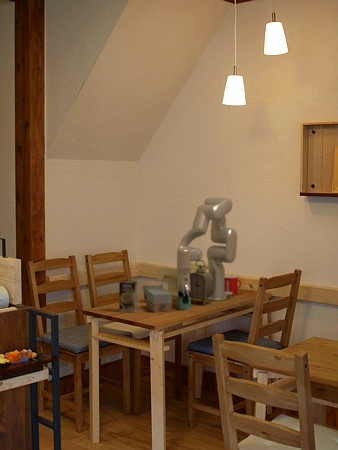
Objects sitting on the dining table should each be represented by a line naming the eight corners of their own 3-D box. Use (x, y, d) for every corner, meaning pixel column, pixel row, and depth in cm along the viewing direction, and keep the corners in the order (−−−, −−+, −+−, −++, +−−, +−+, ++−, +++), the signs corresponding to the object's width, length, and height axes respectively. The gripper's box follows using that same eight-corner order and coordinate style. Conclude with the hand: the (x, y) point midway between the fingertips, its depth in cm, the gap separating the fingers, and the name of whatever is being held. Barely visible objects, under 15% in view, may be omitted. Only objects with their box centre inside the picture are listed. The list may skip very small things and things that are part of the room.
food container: (145, 304, 377) (145, 286, 376) (142, 302, 382) (142, 285, 381) (166, 302, 381) (166, 285, 380) (162, 300, 387) (162, 283, 386)
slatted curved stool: (190, 289, 421) (190, 262, 420) (209, 293, 410) (209, 264, 409) (157, 296, 400) (157, 267, 398) (176, 299, 389) (176, 269, 387)
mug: (220, 294, 406) (220, 277, 405) (227, 292, 413) (227, 275, 412) (237, 296, 399) (237, 279, 398) (244, 294, 406) (244, 277, 405)
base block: (164, 306, 372) (163, 297, 372) (172, 312, 357) (171, 303, 356) (146, 307, 369) (146, 298, 369) (154, 313, 354) (154, 304, 354)
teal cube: (187, 306, 369) (187, 296, 369) (190, 309, 364) (190, 298, 363) (177, 307, 368) (177, 296, 367) (180, 309, 362) (180, 298, 361)
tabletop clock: (186, 302, 380) (186, 259, 378) (196, 300, 387) (196, 258, 385) (204, 306, 370) (205, 262, 368) (215, 304, 377) (215, 260, 375)
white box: (164, 297, 372) (164, 288, 371) (171, 303, 356) (171, 293, 356) (146, 298, 369) (146, 289, 369) (153, 304, 354) (153, 294, 353)
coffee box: (118, 312, 356) (118, 282, 355) (121, 309, 362) (121, 280, 361) (135, 312, 355) (135, 282, 353) (137, 310, 361) (137, 280, 360)
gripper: (194, 273, 356) (194, 304, 357) (185, 268, 373) (185, 299, 374) (181, 273, 354) (181, 305, 356) (172, 269, 371) (172, 299, 372)
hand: (183, 301), depth 365 cm, fingers open, 9 cm apart
